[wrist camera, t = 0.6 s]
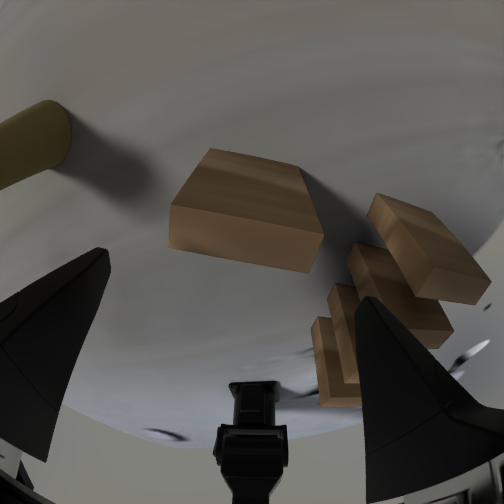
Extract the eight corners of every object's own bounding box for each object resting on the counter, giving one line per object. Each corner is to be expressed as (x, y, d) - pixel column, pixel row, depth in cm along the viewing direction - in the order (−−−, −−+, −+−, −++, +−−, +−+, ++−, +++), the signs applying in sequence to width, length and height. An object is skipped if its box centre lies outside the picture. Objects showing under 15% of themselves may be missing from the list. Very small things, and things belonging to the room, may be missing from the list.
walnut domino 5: (400, 272, 23) (438, 348, 15) (345, 261, 22) (376, 348, 15) (409, 255, 22) (454, 331, 14) (355, 241, 21) (392, 327, 14)
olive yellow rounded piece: (67, 91, 14) (-48, 130, 5) (76, 163, 18) (-21, 237, 9) (20, 110, 14) (-76, 156, 5) (31, 171, 18) (-53, 237, 9)
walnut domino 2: (378, 306, 25) (405, 381, 18) (327, 298, 25) (344, 383, 17) (388, 291, 24) (419, 368, 17) (335, 283, 24) (357, 369, 16)
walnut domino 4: (422, 232, 20) (474, 305, 13) (366, 215, 20) (415, 296, 12) (432, 212, 19) (491, 281, 12) (376, 192, 19) (434, 266, 11)
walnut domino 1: (290, 192, 19) (308, 273, 12) (205, 175, 18) (168, 247, 11) (297, 166, 18) (324, 234, 10) (210, 148, 17) (170, 204, 10)
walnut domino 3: (359, 333, 28) (377, 404, 21) (310, 328, 27) (320, 407, 20) (367, 322, 27) (389, 395, 19) (317, 316, 26) (330, 397, 19)
